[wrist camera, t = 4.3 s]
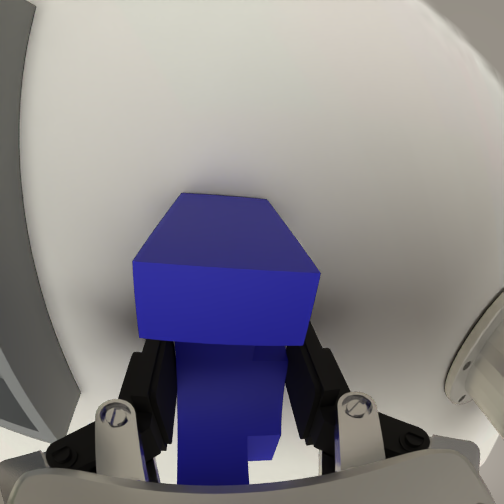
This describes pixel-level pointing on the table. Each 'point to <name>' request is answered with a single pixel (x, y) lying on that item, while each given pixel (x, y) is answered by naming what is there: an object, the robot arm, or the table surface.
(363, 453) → the robot arm
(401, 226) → the table surface
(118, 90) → the table surface
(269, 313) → the blue long angular piece
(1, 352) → the gray tray
